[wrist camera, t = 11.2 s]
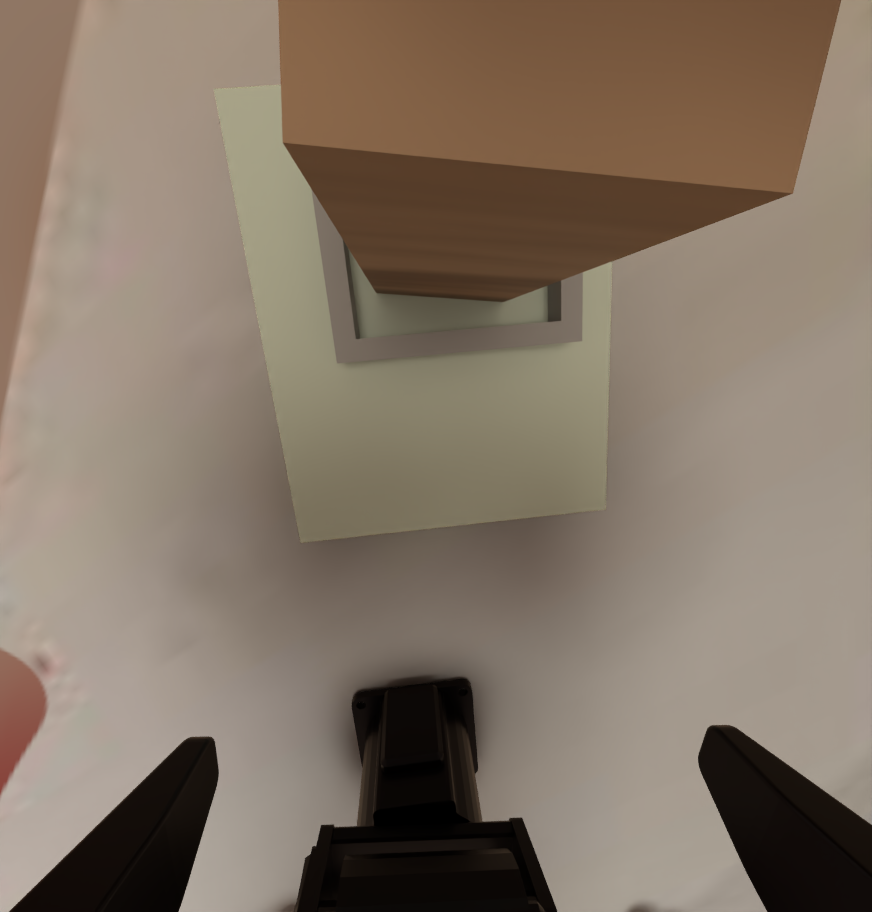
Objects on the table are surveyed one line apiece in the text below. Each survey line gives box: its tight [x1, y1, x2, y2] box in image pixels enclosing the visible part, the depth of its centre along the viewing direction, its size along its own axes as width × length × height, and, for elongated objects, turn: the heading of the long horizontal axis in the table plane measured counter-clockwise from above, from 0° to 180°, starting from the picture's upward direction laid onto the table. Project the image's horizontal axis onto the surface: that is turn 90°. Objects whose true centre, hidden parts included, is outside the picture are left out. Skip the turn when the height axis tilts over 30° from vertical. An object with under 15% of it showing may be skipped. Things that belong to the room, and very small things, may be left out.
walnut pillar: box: [278, 0, 841, 302], centre depth 10 cm, size 5×5×13 cm
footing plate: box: [214, 85, 612, 543], centre depth 17 cm, size 17×14×3 cm
